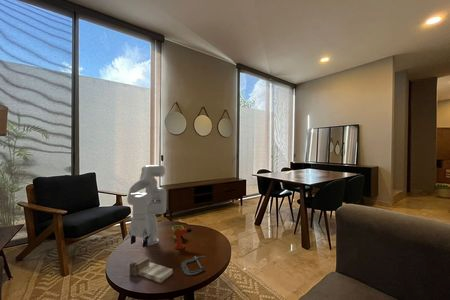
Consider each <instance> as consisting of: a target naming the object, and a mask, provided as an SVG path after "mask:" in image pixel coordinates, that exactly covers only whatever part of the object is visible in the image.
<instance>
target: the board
mask: <svg viewBox="0 0 450 300" xmlns="http://www.w3.org/2000/svg"><path fill="white" fill-rule="evenodd" d="M173 271H174V270H173V268H169V267H167V266H164V265H161V264H157V263H154V262H151V261H149V265H147V266H145V267H144V268H142V269H141V270H139V271H138V275H137V276H141V277H143V278H147V279H148V280H149V279H150V280H152V281H155V282H157V283H163V282H164V281H165V280H166V279H168V278H169V277H170V276H171V275H172V274H173Z"/></svg>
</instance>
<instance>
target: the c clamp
mask: <svg viewBox="0 0 450 300" xmlns="http://www.w3.org/2000/svg"><path fill="white" fill-rule="evenodd" d="M200 258H201V259H202V258H206V255H202V256H196V255H195V256H194V257H193V258H191V259H186V260H184V261H182V262H181V263H180V267H181V269H182V271H183V273H184V275H186V276H187V277H189V276H190V277H191V276H195V275H198V274H200V273H202V272H204V271H205V267H203V266H202V265H201V262H200V261H199V259H200ZM195 262H196V263H197V266H198V267H199V269H197V270H193V271H192V270H189V268H188V264H192V263H195Z"/></svg>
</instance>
